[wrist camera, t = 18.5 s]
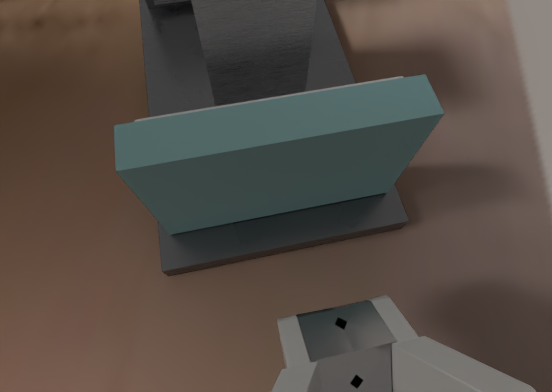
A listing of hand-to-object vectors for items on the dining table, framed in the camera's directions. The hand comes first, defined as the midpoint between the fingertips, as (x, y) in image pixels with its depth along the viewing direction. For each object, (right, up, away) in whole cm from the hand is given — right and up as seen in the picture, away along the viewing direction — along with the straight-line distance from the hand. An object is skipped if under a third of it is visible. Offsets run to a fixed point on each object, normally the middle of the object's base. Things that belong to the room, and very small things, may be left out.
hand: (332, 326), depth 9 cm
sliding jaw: (-1, +4, +7) cm, 8 cm away
